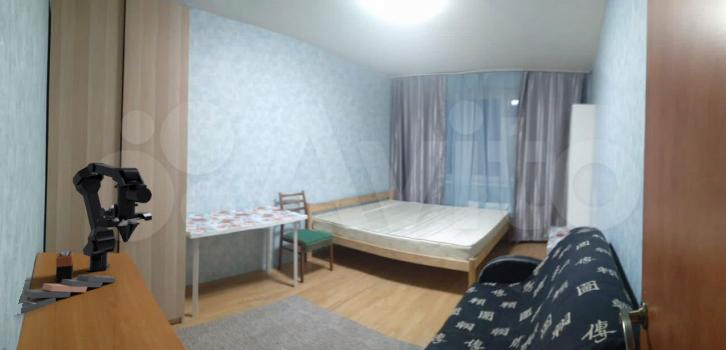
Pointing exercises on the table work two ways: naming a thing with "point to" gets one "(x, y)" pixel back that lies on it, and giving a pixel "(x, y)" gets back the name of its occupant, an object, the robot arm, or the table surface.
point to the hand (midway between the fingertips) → (125, 242)
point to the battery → (64, 266)
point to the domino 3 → (63, 288)
